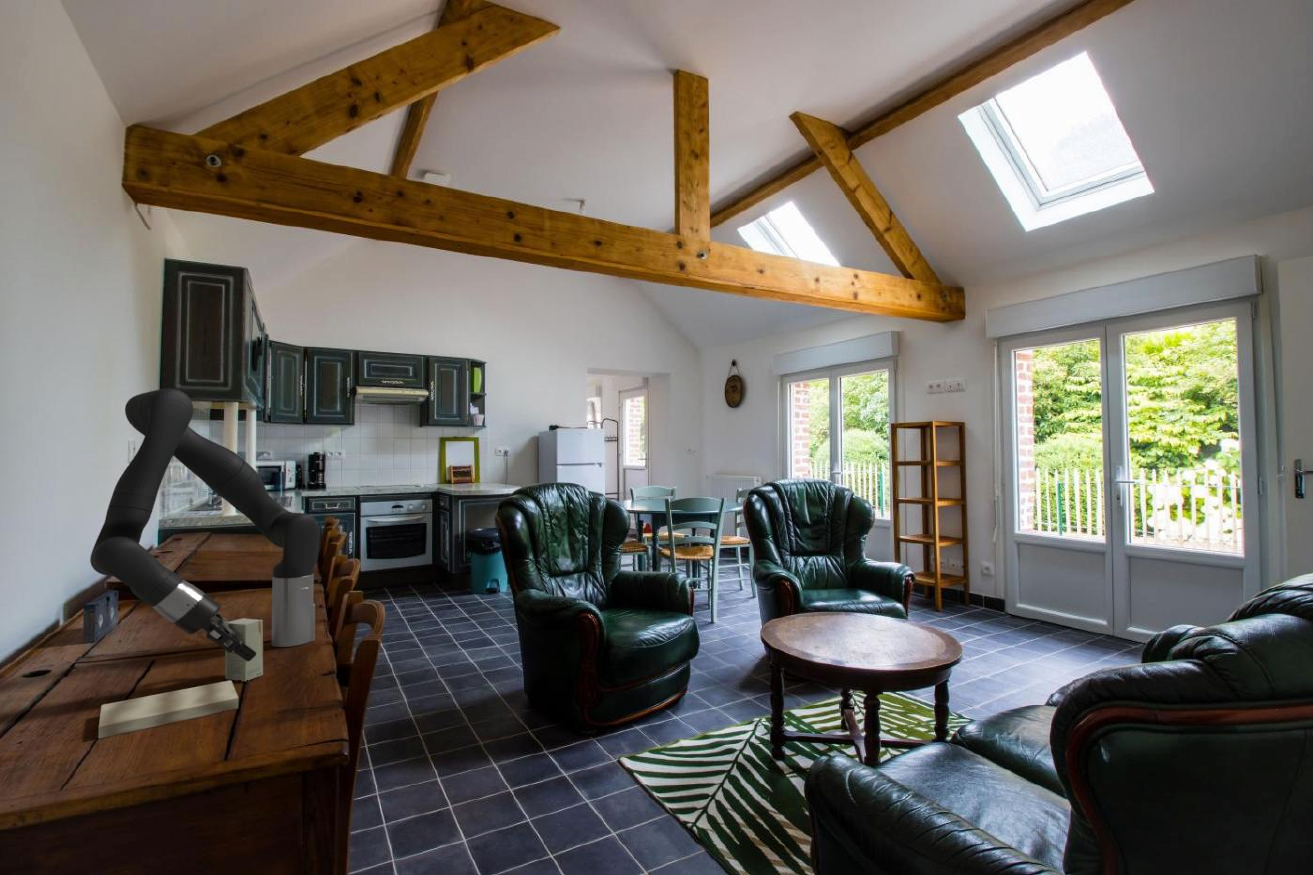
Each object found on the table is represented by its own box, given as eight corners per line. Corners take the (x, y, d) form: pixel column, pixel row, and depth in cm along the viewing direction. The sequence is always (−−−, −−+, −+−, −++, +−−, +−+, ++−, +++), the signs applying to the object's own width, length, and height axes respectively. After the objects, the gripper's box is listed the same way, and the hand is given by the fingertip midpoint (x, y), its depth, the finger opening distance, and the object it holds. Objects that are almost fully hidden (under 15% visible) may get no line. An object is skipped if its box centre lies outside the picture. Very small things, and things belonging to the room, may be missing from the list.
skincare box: (263, 675, 137) (264, 619, 138) (245, 682, 133) (246, 624, 133) (242, 672, 139) (243, 617, 140) (223, 678, 135) (224, 622, 136)
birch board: (230, 689, 129) (231, 680, 129) (238, 708, 120) (238, 697, 120) (101, 715, 116) (101, 704, 116) (98, 738, 107) (98, 726, 107)
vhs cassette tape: (107, 626, 176) (107, 590, 176) (120, 625, 177) (121, 589, 178) (79, 644, 159) (80, 605, 160) (95, 643, 161) (95, 604, 161)
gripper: (202, 599, 127) (268, 646, 133) (204, 586, 138) (265, 631, 145) (168, 629, 123) (238, 677, 130) (173, 614, 135) (237, 658, 142)
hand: (252, 652), depth 137 cm, fingers closed on skincare box, 7 cm apart
